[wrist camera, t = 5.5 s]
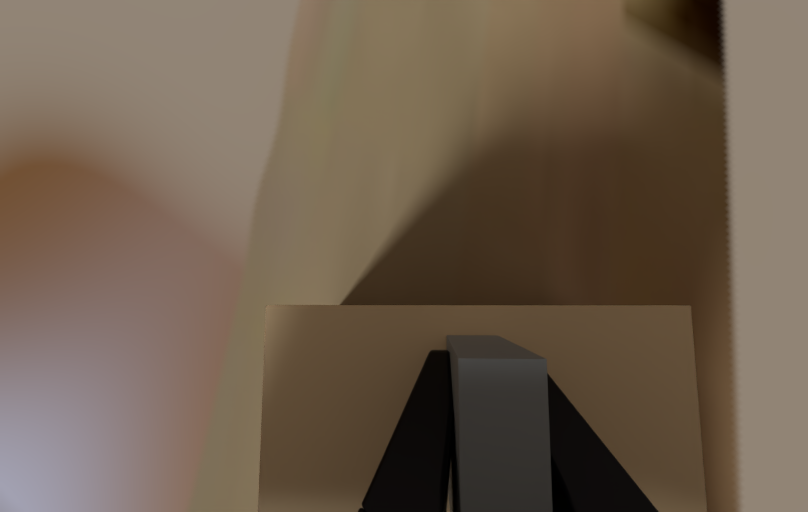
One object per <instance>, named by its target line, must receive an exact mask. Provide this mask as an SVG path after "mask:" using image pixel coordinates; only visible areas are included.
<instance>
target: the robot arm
mask: <svg viewBox="0 0 808 512" xmlns="http://www.w3.org/2000/svg"><path fill="white" fill-rule="evenodd" d="M547 380H548V406H549V431H550V456H551V482H552V507H553V512H659V511H658V510H657V509H656V508H655V506H654V505H653V504H652V503H651V501H650V500H649V499H648V498H647V496H646V495H645V494H644V493H643V491H642V490H641V489H640V488H639V486H638V485H637V484H636V483H635V481H634V480H633V479H632V478H631V476H630V475H629V474H628V473H627V471H626V470H625V469H624V468H623V466H622V465H621V464H620V463H619V461H618V460H617V459H616V458H615V456H614V455H613V454H612V453H611V451H610V450H609V449H608V448H607V446H606V445H605V444H604V443H603V441H602V440H601V439H600V438H599V436H598V435H597V434H596V433H595V432H594V430H593V429H592V428H591V427H590V425H589V424H588V423H587V422H586V420H585V419H584V418H583V417H582V415H581V414H580V413H579V412H578V410H577V409H576V408H575V407H574V405H573V404H572V403H571V402H570V400H569V399H568V398H567V397H566V395H565V394H564V393H563V392H562V390H561V389H560V388H559V387H558V385H557V384H556V383H555V382H554V380H553V379H552V378H551V377H550V375H549V374H548V373H547ZM452 423H453V391H452V378H451V364H450V352H449V351H448V350H431V351H430V352H429V353H428V355H427V358H426V360H425V362H424V364H423V367H422V369H421V371H420V373H419V375H418V378H417V380H416V382H415V384H414V387H413V389H412V391H411V393H410V396H409V398H408V400H407V402H406V405H405V407H404V409H403V411H402V414H401V416H400V418H399V420H398V423H397V425H396V427H395V429H394V432H393V434H392V436H391V438H390V441H389V443H388V445H387V447H386V450H385V452H384V454H383V456H382V459H381V461H380V463H379V465H378V468H377V470H376V472H375V474H374V477H373V479H372V481H371V483H370V486H369V488H368V490H367V492H366V495H365V497H364V499H363V501H362V508H359V510H358V512H447V500H448V488H449V476H450V463H451V443H452Z"/></svg>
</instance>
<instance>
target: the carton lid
mask: <svg viewBox="0 0 808 512" xmlns="http://www.w3.org/2000/svg"><path fill="white" fill-rule="evenodd" d="M431 350H448V351H449V352H450V364H451V378H452V391H453V423H452V443H451V463H450V476H449V488H448V500H447V512H553V507H552V482H551V456H550V431H549V406H548V380H547V373H548V374H549V375H550V377H551V378H552V379H553V380H554V382H555V383H556V384H557V385H558V387H559V388H560V389H561V390H562V392H563V393H564V394H565V395H566V397H567V398H568V399H569V400H570V402H571V403H572V404H573V405H574V407H575V408H576V409H577V410H578V412H579V413H580V414H581V415H582V417H583V418H584V419H585V420H586V422H587V423H588V424H589V425H590V427H591V428H592V429H593V430H594V432H595V433H596V434H597V435H598V436H599V438H600V439H601V440H602V441H603V443H604V444H605V445H606V446H607V448H608V449H609V450H610V451H611V453H612V454H613V455H614V456H615V458H616V459H617V460H618V461H619V463H620V464H621V465H622V466H623V468H624V469H625V470H626V471H627V473H628V474H629V475H630V476H631V478H632V479H633V480H634V481H635V483H636V484H637V485H638V486H639V488H640V489H641V490H642V491H643V493H644V494H645V495H646V496H647V498H648V499H649V500H650V501H651V503H652V504H653V505H654V506H655V508H656V509H657V510H658V511H659V512H707V501H706V489H705V476H704V464H703V451H702V439H701V426H700V414H699V401H698V389H697V376H696V364H695V352H694V339H693V327H692V314H691V305H266V319H265V345H264V371H263V397H262V423H261V449H260V475H259V501H258V512H358V510H359V508H362V501H363V499H364V497H365V495H366V492H367V490H368V488H369V486H370V483H371V481H372V479H373V477H374V474H375V472H376V470H377V468H378V465H379V463H380V461H381V459H382V456H383V454H384V452H385V450H386V447H387V445H388V443H389V441H390V438H391V436H392V434H393V432H394V429H395V427H396V425H397V423H398V420H399V418H400V416H401V414H402V411H403V409H404V407H405V405H406V402H407V400H408V398H409V396H410V393H411V391H412V389H413V387H414V384H415V382H416V380H417V378H418V375H419V373H420V371H421V369H422V367H423V364H424V362H425V360H426V358H427V355H428V353H429V352H430V351H431Z"/></svg>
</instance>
